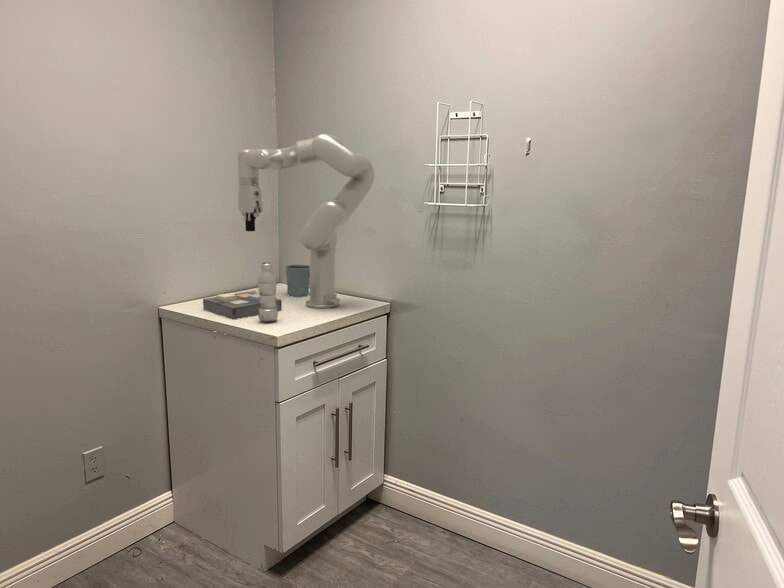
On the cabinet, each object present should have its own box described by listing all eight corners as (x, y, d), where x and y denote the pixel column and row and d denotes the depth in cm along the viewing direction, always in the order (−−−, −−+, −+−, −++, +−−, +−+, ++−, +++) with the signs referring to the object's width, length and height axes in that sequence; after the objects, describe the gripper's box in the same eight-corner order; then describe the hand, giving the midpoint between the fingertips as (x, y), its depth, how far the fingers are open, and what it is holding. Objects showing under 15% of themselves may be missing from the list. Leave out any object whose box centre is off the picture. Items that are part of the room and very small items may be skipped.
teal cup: (281, 295, 240) (280, 266, 238) (299, 291, 248) (298, 263, 246) (298, 298, 234) (297, 269, 232) (316, 294, 242) (315, 266, 240)
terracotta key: (255, 302, 218) (255, 295, 217) (243, 304, 214) (243, 297, 214) (247, 299, 221) (247, 293, 221) (236, 301, 218) (236, 295, 217)
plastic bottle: (254, 321, 196) (252, 263, 192) (268, 318, 202) (267, 261, 198) (267, 324, 193) (266, 265, 189) (282, 320, 198) (281, 262, 194)
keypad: (281, 310, 213) (281, 299, 212) (233, 319, 199) (233, 308, 198) (250, 301, 226) (250, 291, 226) (203, 309, 212) (203, 298, 211)
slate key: (267, 302, 212) (267, 295, 212) (256, 304, 209) (256, 297, 208) (259, 300, 216) (259, 293, 215) (248, 302, 212) (248, 295, 212)
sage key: (249, 308, 207) (248, 302, 206) (236, 311, 203) (236, 304, 203) (241, 306, 210) (241, 299, 210) (229, 308, 207) (228, 301, 206)
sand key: (236, 302, 212) (236, 295, 211) (224, 304, 208) (224, 297, 208) (229, 299, 215) (228, 293, 215) (216, 301, 212) (216, 295, 211)
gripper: (268, 183, 219) (270, 232, 223) (246, 182, 229) (247, 229, 233) (251, 183, 214) (253, 233, 217) (229, 182, 223) (231, 230, 227)
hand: (250, 231), depth 225 cm, fingers closed
